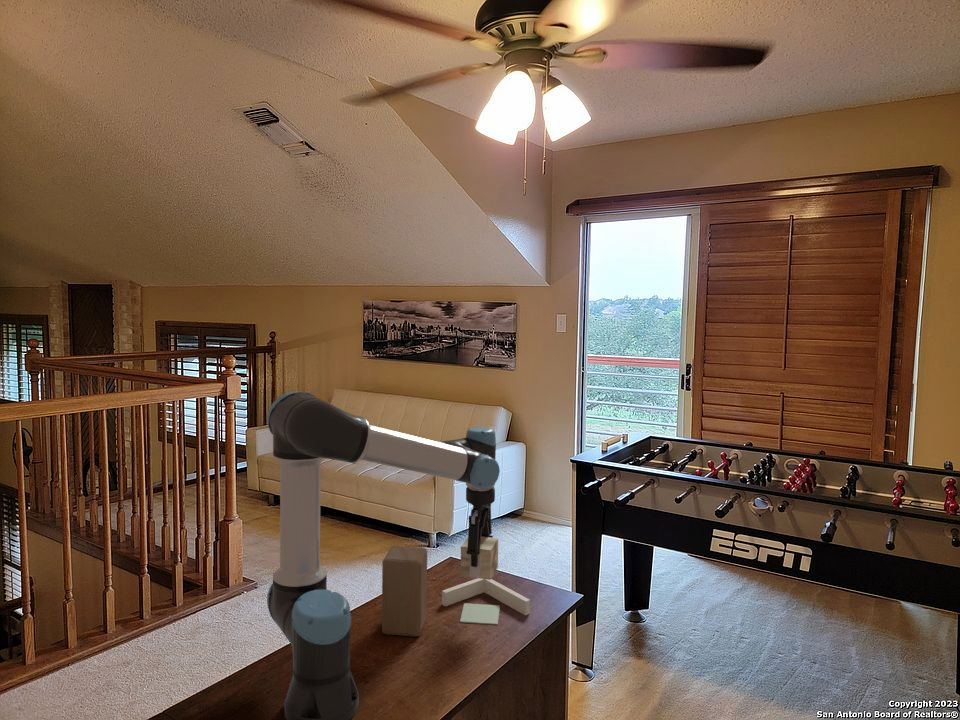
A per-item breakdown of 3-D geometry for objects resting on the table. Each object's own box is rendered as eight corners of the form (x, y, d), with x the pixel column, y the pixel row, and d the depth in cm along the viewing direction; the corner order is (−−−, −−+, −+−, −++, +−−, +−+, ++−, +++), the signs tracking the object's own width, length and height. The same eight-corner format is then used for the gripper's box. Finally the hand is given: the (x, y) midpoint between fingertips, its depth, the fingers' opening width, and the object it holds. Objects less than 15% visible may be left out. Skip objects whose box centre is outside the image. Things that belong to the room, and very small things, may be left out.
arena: (479, 634, 170) (479, 620, 169) (435, 606, 184) (436, 592, 183) (529, 613, 181) (530, 599, 181) (484, 588, 195) (485, 575, 195)
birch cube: (490, 579, 170) (490, 550, 169) (460, 575, 172) (460, 546, 171) (497, 566, 178) (498, 538, 177) (469, 563, 180) (469, 534, 179)
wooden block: (426, 618, 177) (428, 546, 175) (419, 638, 167) (420, 562, 165) (390, 616, 178) (390, 544, 176) (380, 635, 168) (381, 560, 166)
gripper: (484, 501, 161) (482, 589, 164) (503, 476, 181) (502, 555, 184) (454, 497, 163) (454, 585, 166) (477, 474, 183) (476, 552, 186)
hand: (479, 569), depth 175 cm, fingers closed on birch cube, 8 cm apart
